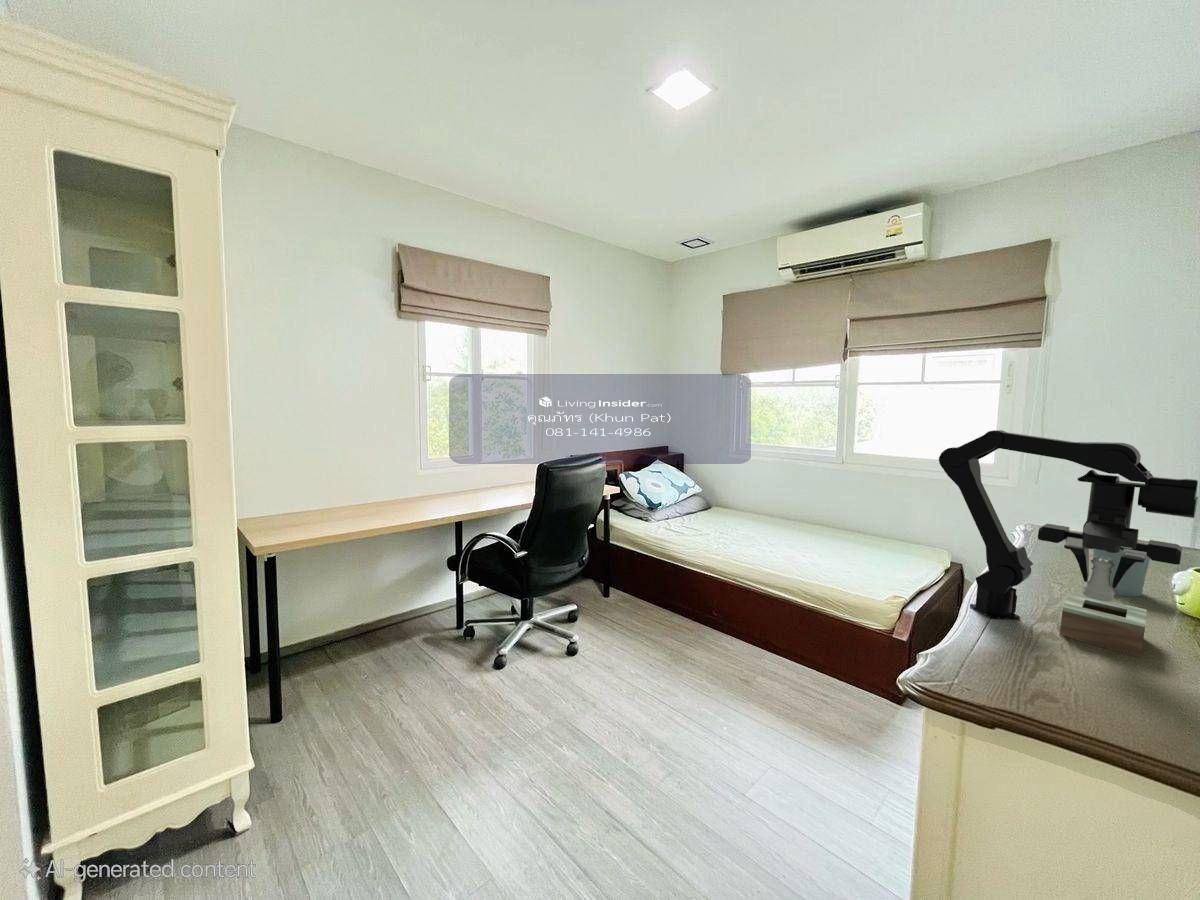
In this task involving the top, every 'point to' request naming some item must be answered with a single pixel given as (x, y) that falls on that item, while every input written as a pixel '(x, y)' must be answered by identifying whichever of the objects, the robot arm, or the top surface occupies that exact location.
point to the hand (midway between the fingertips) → (1099, 584)
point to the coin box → (1104, 623)
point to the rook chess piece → (1100, 580)
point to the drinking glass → (1126, 574)
